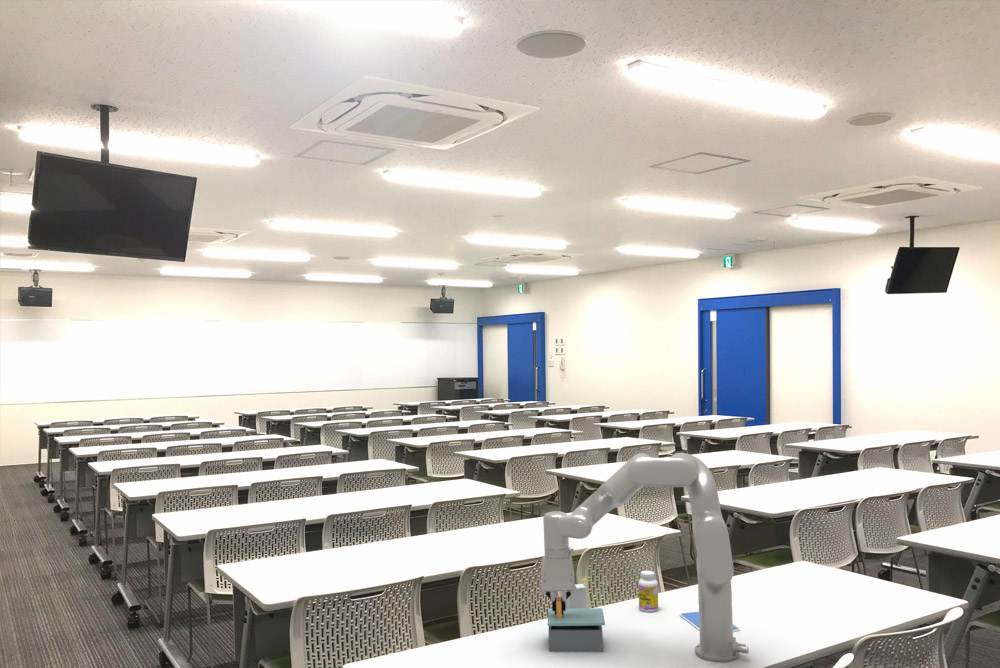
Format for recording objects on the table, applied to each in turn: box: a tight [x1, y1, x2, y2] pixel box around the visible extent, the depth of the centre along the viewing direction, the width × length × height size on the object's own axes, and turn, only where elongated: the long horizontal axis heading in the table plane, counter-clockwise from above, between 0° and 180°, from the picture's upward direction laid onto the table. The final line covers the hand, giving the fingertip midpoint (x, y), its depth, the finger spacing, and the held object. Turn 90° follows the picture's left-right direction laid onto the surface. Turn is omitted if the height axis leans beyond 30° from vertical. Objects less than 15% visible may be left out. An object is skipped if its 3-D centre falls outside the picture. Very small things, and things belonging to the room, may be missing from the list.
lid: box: [547, 595, 606, 627], centre depth 233 cm, size 17×13×6 cm
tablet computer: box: [679, 611, 741, 633], centre depth 250 cm, size 19×13×1 cm, turn 12°
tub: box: [548, 625, 604, 653], centre depth 233 cm, size 16×12×7 cm
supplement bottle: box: [638, 570, 659, 613], centre depth 265 cm, size 7×7×13 cm
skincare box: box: [565, 583, 587, 609], centre depth 254 cm, size 6×4×12 cm
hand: (559, 612), depth 233 cm, fingers closed on lid, 1 cm apart
